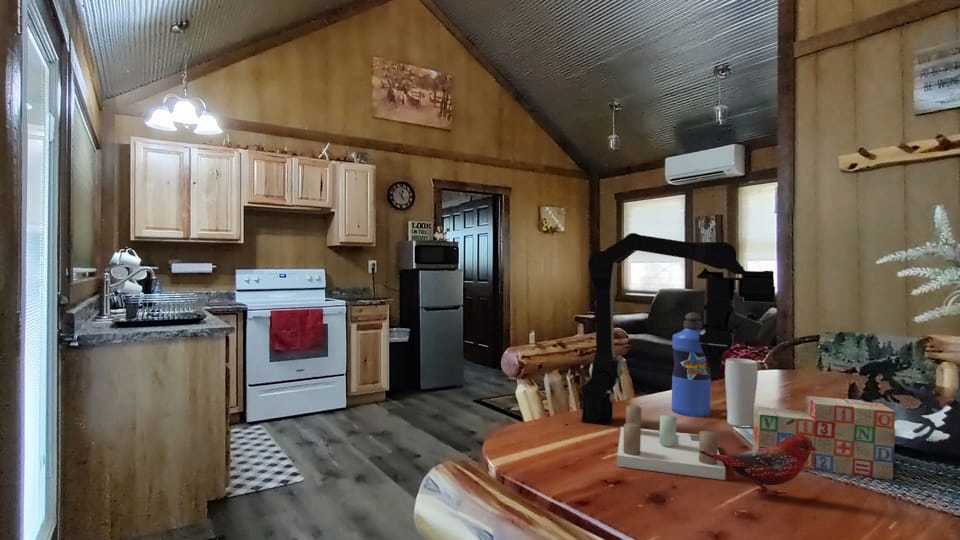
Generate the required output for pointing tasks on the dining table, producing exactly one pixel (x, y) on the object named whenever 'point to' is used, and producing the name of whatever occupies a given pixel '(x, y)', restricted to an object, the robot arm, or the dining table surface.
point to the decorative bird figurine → (770, 462)
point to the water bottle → (690, 371)
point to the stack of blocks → (834, 434)
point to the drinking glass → (740, 390)
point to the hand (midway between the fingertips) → (716, 372)
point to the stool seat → (667, 450)
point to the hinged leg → (667, 430)
